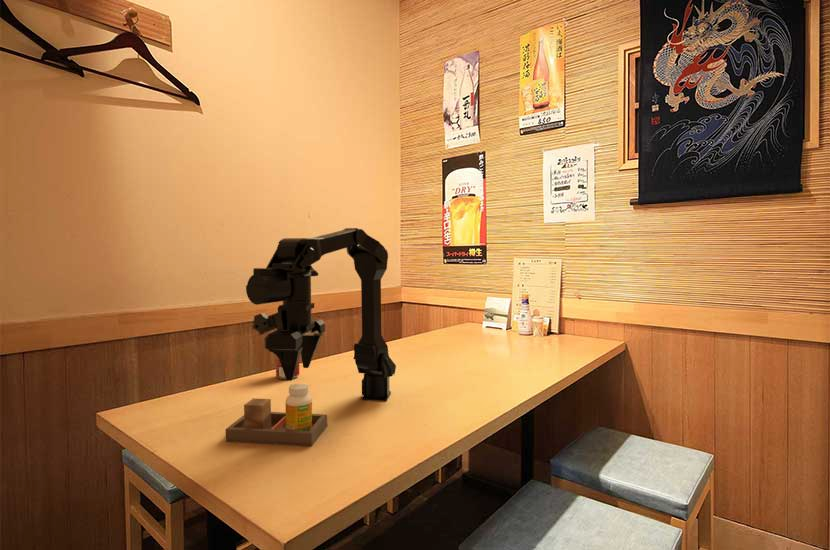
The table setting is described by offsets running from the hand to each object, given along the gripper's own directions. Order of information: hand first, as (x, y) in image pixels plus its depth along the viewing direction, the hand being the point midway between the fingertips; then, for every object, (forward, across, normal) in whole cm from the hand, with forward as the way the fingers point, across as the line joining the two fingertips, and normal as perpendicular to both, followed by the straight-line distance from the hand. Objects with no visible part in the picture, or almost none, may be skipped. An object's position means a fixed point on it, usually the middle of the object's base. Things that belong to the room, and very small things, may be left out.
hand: (298, 373), depth 94 cm
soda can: (+13, -39, -18) cm, 45 cm away
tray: (+13, 0, -4) cm, 14 cm away
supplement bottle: (+13, 0, 0) cm, 13 cm away
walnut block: (+12, 0, -9) cm, 15 cm away
